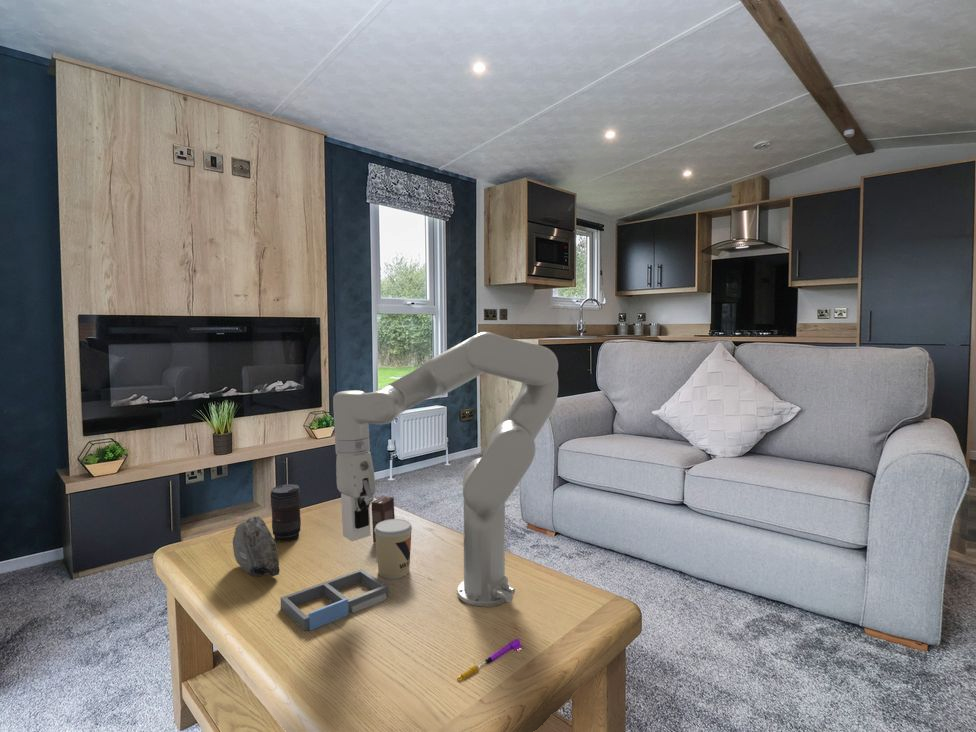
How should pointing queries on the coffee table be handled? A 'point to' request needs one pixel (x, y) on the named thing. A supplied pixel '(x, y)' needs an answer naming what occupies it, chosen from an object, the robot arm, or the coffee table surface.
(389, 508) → the box
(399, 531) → the cream lidded canister
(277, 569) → the decorative rock
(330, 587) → the divided sorting tray
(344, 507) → the plug
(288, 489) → the camera lens
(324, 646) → the coffee table surface
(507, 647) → the purple and yellow tool
